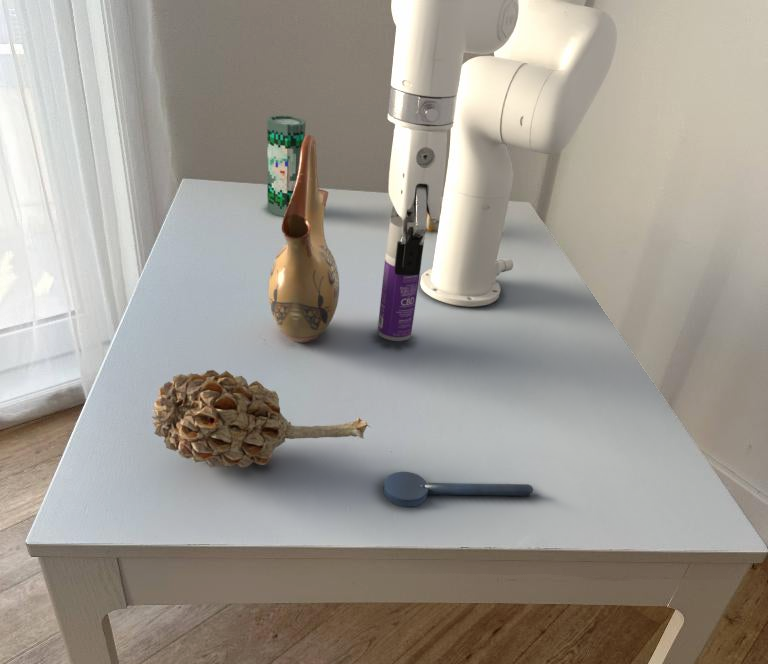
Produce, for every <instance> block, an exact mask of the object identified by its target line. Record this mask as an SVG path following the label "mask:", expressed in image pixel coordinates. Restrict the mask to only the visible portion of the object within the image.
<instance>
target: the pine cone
mask: <svg viewBox="0 0 768 664" xmlns="http://www.w3.org/2000/svg"><path fill="white" fill-rule="evenodd" d="M157 393H158V394H159V395H157V400H156V401H155V402H154V404H153V406H154V409H152V412H153V414H154V415H152V416H151V418H152V419H154V420H155V421H153V422H152V424H153V426H154V427H155V431H154V433H153V434H154V435H156V436H158V437H160V438H161V437H163V438H164V440H163V443H164V444H165V447H166V449H168V450H171V451H174V452H176V451H178V455H179V457H180V458H184V459H187V460H188V459H192V461H193V462H194V463H201V462H205V463H206V464H207V466H209V467H210V468H216V467H220V466H222V465H223V466H224V467H225V468H227V467H233V466H234V465H237V466H238V467H240V468H247V467H249V466H250V465H252V464H253V463H255V464H256V465H259V466H262V465H263V466H265V465H266V464H268V462H269V461H270V460H271V459H272V456H273V454H274V450H275V449H276V448H278V447H279V446H281V445H282V444H284V443H285V442H286V439H287V440H294V439H319V438H345V437H347V438H349V437H353V438H355V437H356V438H357V437H358V438H360V439H365V438H364V434H365V430H366V429H367V427H369V428H371V426H370V425H368V422H367V420H363V419H361V418H360V417H358V418H357V419H356V420H355V421H352V422H345V423H342V424H335V425H334V424H333V425H332V424H331V425H313V426H306V425H297V426H296V425H292V423H291V421H288V420H287V418H286V417H284V415H283V414H282V413H281V406H280V399H279V395H278V393H277V392H276V391H275V390H270V389H268V388H267V387H265V386H264V385H263V384H261V383H260V382H259V381H258V380H255V381H253V382H251V383H250V384H248V381H247V379H246V378H245V377H244V376H242V375H238V376H235V377H234V375H233V374H232V373H230V372H229V371H227V370H225V371H223V372H222V373H219V372H217V371H216V370H214V369H210V370H206V372H203V373H201V374H199V373H192V372H191V373H188V374H187V375H185V374H182V373H179V374H176V375H174V376H173V377H172V382H171V381H167V382H165V383H164V384H163V386H162V387H160V388H159V389H158V390H157Z"/></svg>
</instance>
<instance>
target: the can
mask: <svg viewBox="0 0 768 664" xmlns="http://www.w3.org/2000/svg"><path fill="white" fill-rule="evenodd" d="M266 127H267V129H266V130H267V133H266V135H267V137H266V138H267V150H266V151H267V210H268V212H269V213H271V214H273V215H275V216H279V217H280V216H281V217H284V215H285V212H286V210H287V208H288V205H289V203H290V200H291V197H292V194H293V191H294V188H295V184H296V180H297V175H298V169H299V160H300V151H301V146H302V143H303V140H304V137H305V136H306V121H305V119H303V118H301V117H298V116H294V115H289V114H285V115H284V114H277V115H276V114H275V115H270V116H269V117H268V118H267V125H266Z"/></svg>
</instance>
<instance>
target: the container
mask: <svg viewBox="0 0 768 664" xmlns="http://www.w3.org/2000/svg"><path fill="white" fill-rule="evenodd" d="M401 221H402V218H401V217H400V216H398V217H394V218H392V219H391V218H390V220H389V227H388V234H387V242H386V250H385V256H384V257H385V258H384V263H383V264H384V266H383V275H382V285H381V294H380V303H379V313H378V320H377V334H378V336H380V337H381V338H384V339H386V340H388V341H394V342H395V341H396V342H399V341H406V340H408V339H409V338H411V335H412V332H413V325H414V318H415V310H416V304H417V297H418V289H419V283H420V277H421V272H420V273H419V274H418V275H397V274H395V272H394V267H395V258H396V250H397V241H400V237H401ZM413 224H414V223H411V222H408V224H407V231H408V229H409V227H413ZM422 260H423V259H422ZM422 260H421V262H422ZM421 269H422V266H421V267H420V270H421Z"/></svg>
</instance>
